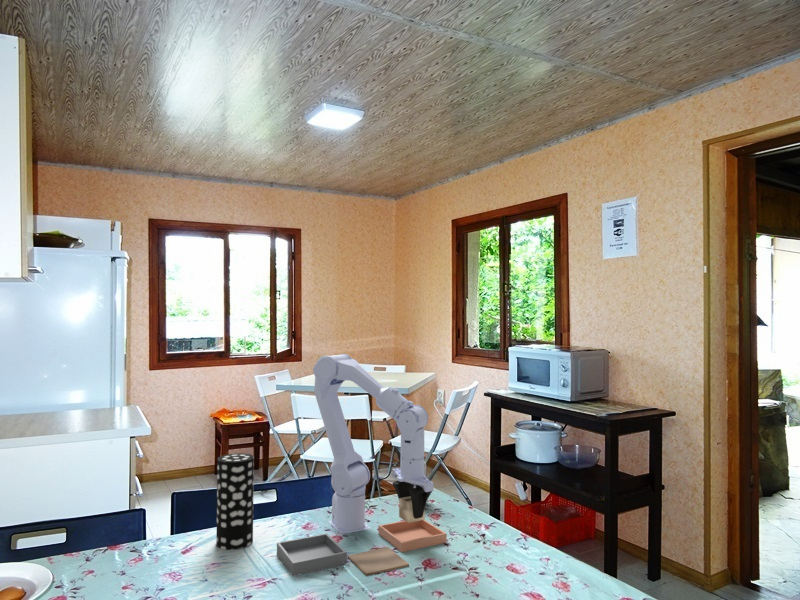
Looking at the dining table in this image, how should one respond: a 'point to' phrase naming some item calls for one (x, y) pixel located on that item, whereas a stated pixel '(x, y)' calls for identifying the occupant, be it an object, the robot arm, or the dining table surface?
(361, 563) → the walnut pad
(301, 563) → the charcoal tray
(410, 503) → the letter cube
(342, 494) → the robot arm
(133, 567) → the dining table surface
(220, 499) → the spotted tube
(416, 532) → the terracotta tray
